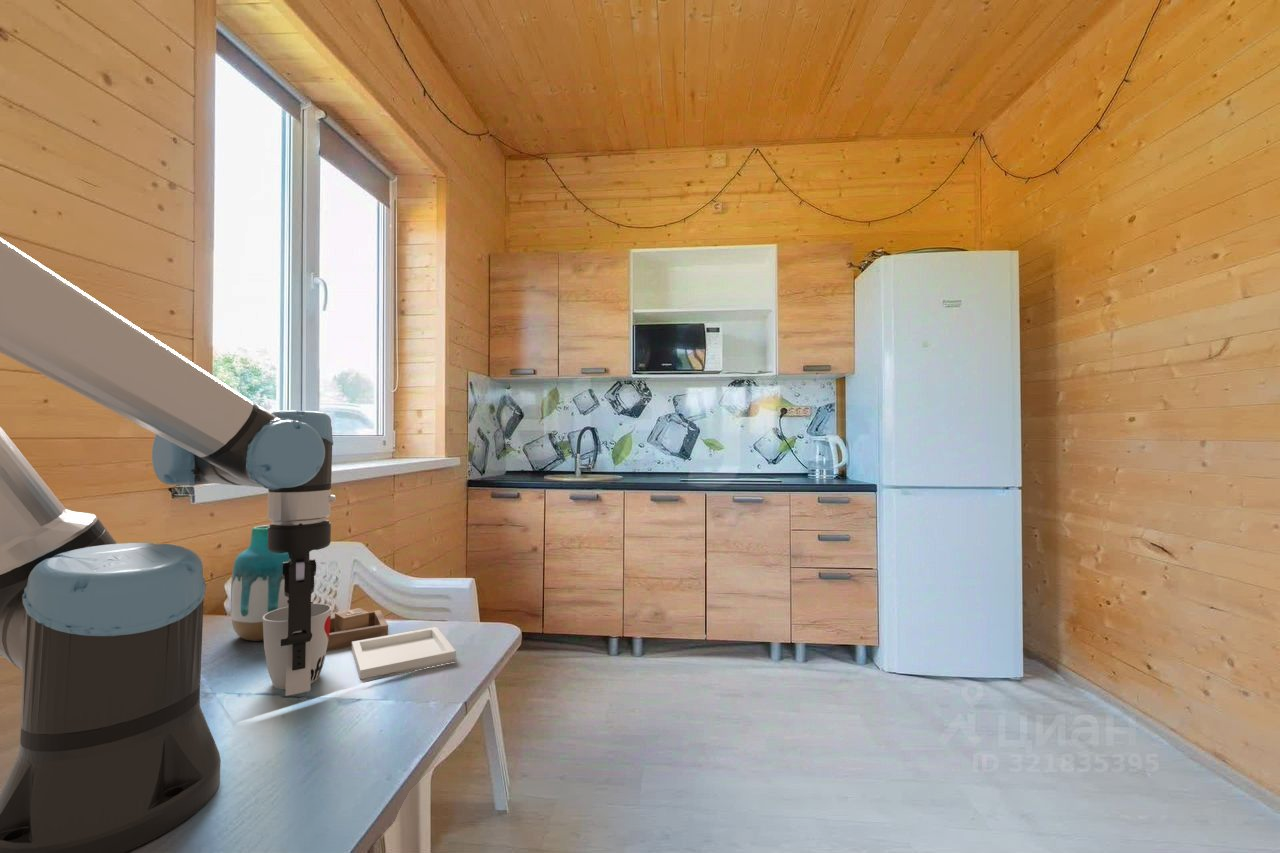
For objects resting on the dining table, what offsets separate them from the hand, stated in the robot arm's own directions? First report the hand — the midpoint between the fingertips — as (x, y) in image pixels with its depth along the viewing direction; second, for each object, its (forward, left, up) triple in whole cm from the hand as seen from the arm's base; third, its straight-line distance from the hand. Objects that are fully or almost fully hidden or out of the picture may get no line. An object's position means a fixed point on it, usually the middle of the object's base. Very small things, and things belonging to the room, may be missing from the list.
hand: (297, 673), depth 75 cm
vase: (+24, +4, -2) cm, 24 cm away
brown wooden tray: (+15, -8, -1) cm, 17 cm away
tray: (+2, -14, -1) cm, 14 cm away
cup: (0, 0, -2) cm, 2 cm away
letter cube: (+15, -8, -1) cm, 17 cm away
